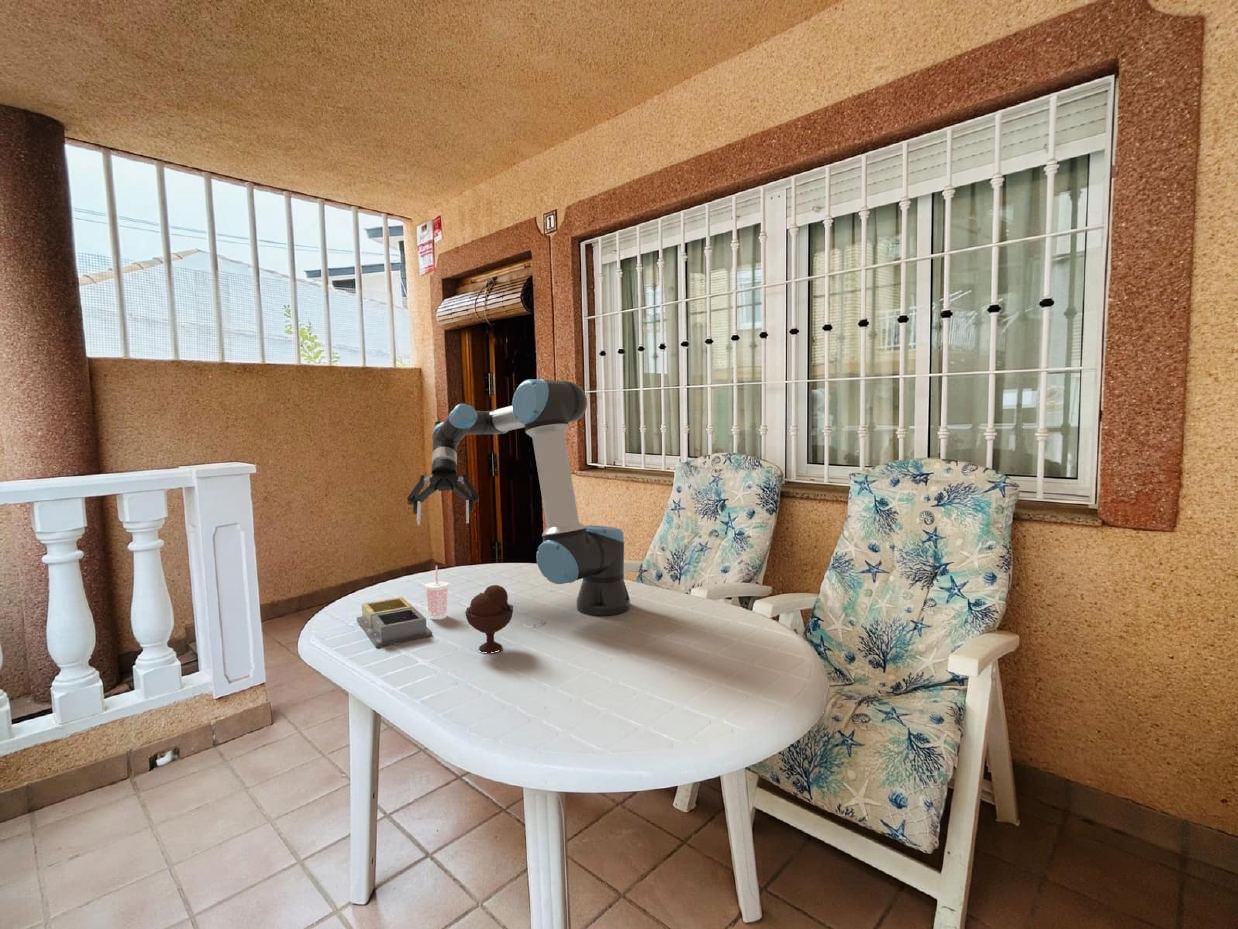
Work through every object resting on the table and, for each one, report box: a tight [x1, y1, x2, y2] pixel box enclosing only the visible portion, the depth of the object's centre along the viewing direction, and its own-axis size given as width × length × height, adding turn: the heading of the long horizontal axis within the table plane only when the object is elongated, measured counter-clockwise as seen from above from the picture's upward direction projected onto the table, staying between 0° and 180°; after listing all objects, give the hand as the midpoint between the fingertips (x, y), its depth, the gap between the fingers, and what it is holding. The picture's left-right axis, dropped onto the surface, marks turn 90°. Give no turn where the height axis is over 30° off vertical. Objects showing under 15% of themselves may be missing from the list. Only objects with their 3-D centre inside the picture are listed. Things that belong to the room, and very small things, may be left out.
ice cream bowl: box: [464, 584, 514, 653], centre depth 133 cm, size 11×11×15 cm
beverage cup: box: [424, 565, 450, 620], centre depth 155 cm, size 6×6×14 cm
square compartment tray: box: [356, 596, 433, 649], centre depth 147 cm, size 22×13×4 cm, turn 35°
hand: (443, 521), depth 167 cm, fingers open, 13 cm apart
